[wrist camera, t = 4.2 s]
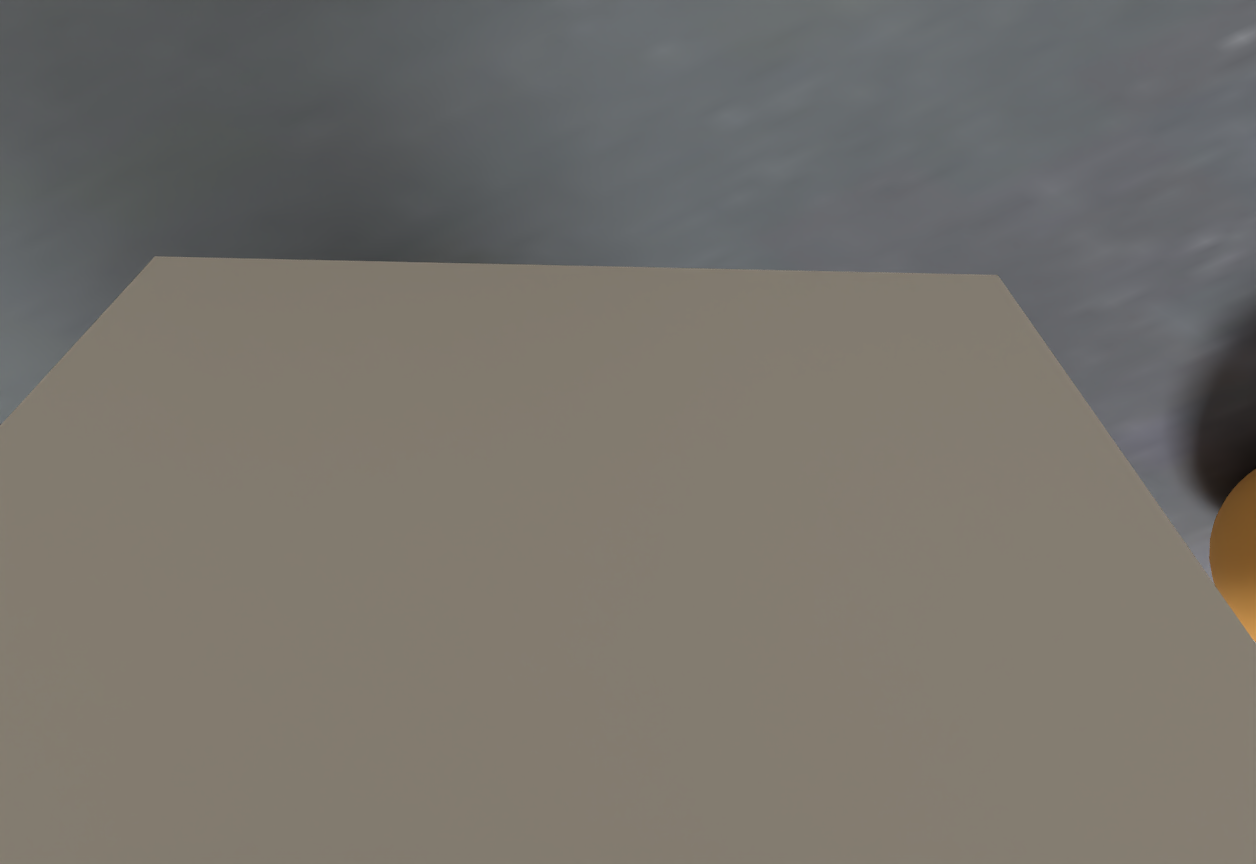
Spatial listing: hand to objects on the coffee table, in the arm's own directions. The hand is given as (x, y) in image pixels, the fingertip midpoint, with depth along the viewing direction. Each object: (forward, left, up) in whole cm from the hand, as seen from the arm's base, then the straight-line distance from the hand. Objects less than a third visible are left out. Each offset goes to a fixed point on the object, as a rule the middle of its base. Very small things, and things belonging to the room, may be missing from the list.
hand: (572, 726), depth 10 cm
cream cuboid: (0, 0, -2) cm, 2 cm away
